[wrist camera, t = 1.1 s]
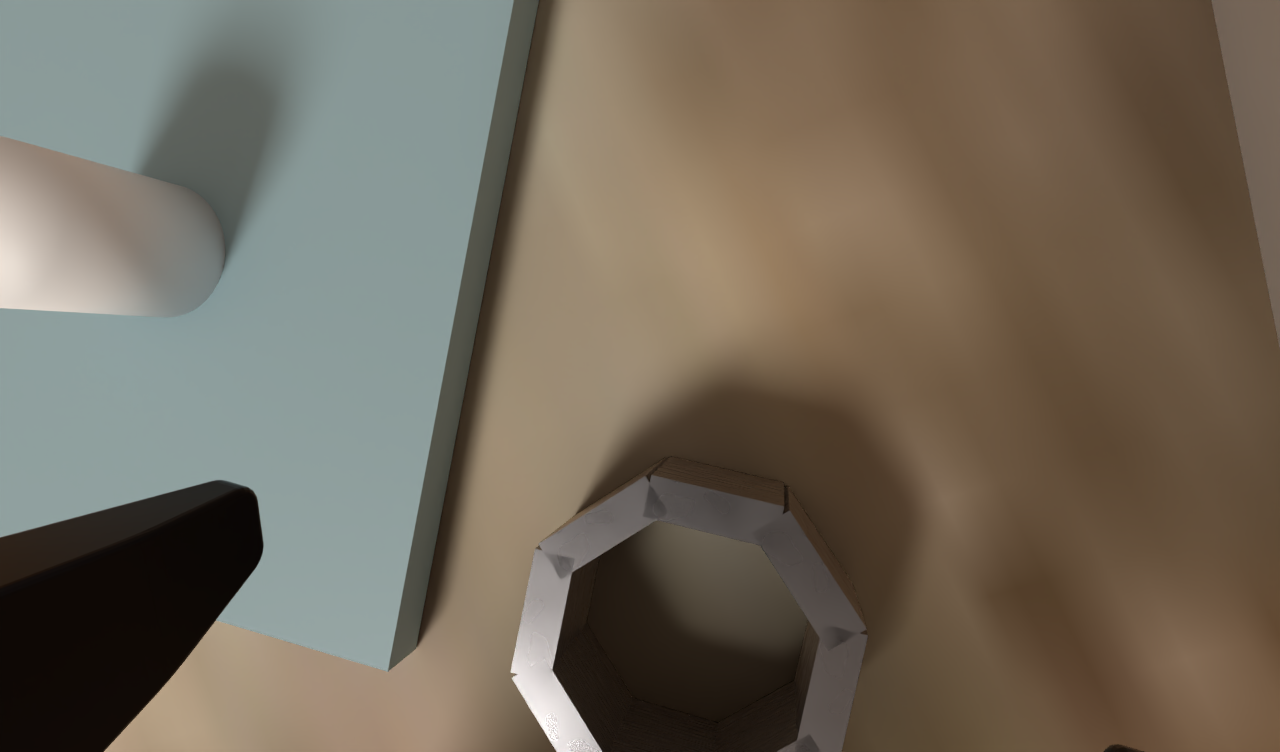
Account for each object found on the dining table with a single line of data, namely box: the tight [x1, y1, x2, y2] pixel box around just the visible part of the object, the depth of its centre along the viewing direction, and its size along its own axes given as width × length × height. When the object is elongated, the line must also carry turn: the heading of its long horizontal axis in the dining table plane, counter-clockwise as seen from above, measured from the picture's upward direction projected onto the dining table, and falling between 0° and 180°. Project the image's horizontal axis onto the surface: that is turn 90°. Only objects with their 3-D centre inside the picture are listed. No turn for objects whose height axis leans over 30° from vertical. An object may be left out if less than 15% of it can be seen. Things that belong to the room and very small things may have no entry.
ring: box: [511, 456, 868, 752], centre depth 18 cm, size 7×7×3 cm
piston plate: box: [0, 0, 539, 672], centre depth 18 cm, size 18×16×6 cm
